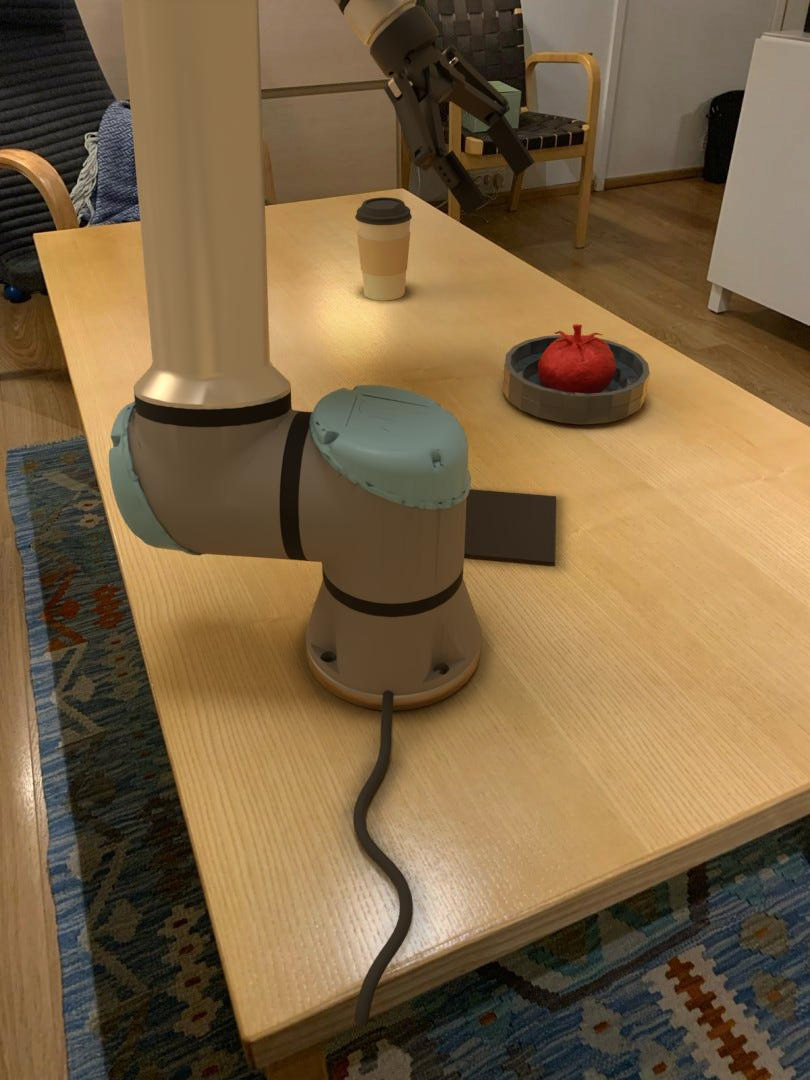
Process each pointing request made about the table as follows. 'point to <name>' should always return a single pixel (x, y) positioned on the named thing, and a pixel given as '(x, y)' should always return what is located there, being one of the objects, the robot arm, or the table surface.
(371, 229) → the coffee cup
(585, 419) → the bowl
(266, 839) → the table surface
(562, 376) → the red tomato
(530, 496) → the mat
